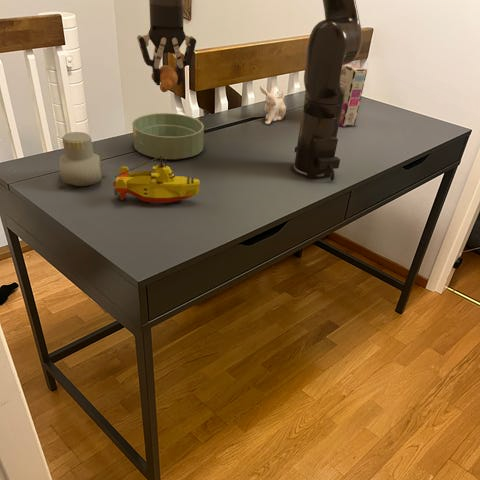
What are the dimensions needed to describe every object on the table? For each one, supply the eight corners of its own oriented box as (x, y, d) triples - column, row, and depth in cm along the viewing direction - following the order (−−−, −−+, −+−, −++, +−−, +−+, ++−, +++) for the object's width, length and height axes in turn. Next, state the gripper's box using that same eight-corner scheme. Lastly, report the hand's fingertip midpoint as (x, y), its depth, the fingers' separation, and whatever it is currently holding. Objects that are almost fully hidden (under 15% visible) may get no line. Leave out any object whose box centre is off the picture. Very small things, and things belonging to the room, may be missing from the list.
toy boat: (117, 192, 104) (112, 147, 97) (199, 195, 105) (200, 151, 99) (113, 206, 99) (107, 159, 92) (199, 209, 100) (200, 163, 94)
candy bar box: (355, 126, 150) (368, 69, 140) (342, 127, 149) (354, 70, 138) (336, 114, 158) (346, 60, 147) (323, 115, 156) (333, 60, 145)
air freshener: (101, 191, 103) (96, 146, 97) (62, 192, 102) (53, 146, 95) (102, 170, 111) (97, 127, 105) (65, 171, 110) (57, 127, 103)
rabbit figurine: (267, 124, 145) (271, 91, 139) (249, 118, 149) (252, 85, 142) (290, 117, 152) (295, 85, 146) (272, 111, 156) (276, 79, 150)
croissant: (171, 79, 120) (170, 60, 118) (182, 92, 113) (182, 72, 110) (150, 79, 119) (150, 60, 116) (161, 93, 111) (160, 72, 108)
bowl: (212, 158, 122) (213, 135, 118) (141, 164, 116) (140, 139, 112) (192, 133, 134) (192, 111, 131) (127, 137, 129) (125, 114, 125)
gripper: (137, 3, 100) (142, 89, 111) (202, 5, 104) (200, 88, 115) (130, -3, 105) (135, 80, 116) (192, -1, 109) (191, 79, 120)
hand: (167, 84), depth 116 cm, fingers closed on croissant, 4 cm apart
